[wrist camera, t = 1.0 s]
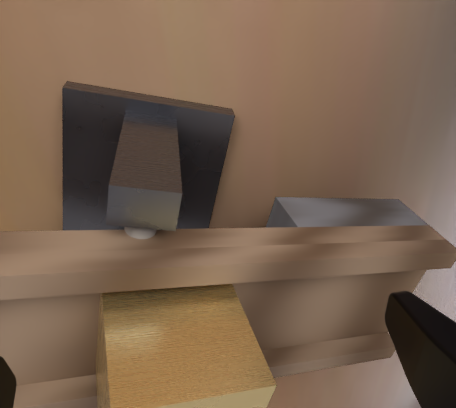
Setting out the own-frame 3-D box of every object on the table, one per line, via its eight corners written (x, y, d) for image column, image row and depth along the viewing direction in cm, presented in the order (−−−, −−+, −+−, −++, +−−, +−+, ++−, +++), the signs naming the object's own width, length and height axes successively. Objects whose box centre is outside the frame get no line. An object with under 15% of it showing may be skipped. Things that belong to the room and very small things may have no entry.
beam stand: (231, 109, 20) (265, 188, 14) (188, 300, 27) (196, 413, 21) (67, 81, 18) (12, 156, 12) (66, 294, 25) (32, 416, 19)
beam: (402, 191, 22) (466, 244, 19) (344, 303, 27) (386, 362, 23) (-404, 169, 11) (-638, 289, 7) (-267, 366, 16) (-370, 500, 12)
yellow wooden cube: (228, 274, 16) (276, 385, 12) (205, 352, 19) (240, 463, 15) (100, 282, 14) (110, 415, 10) (95, 367, 17) (101, 499, 13)
